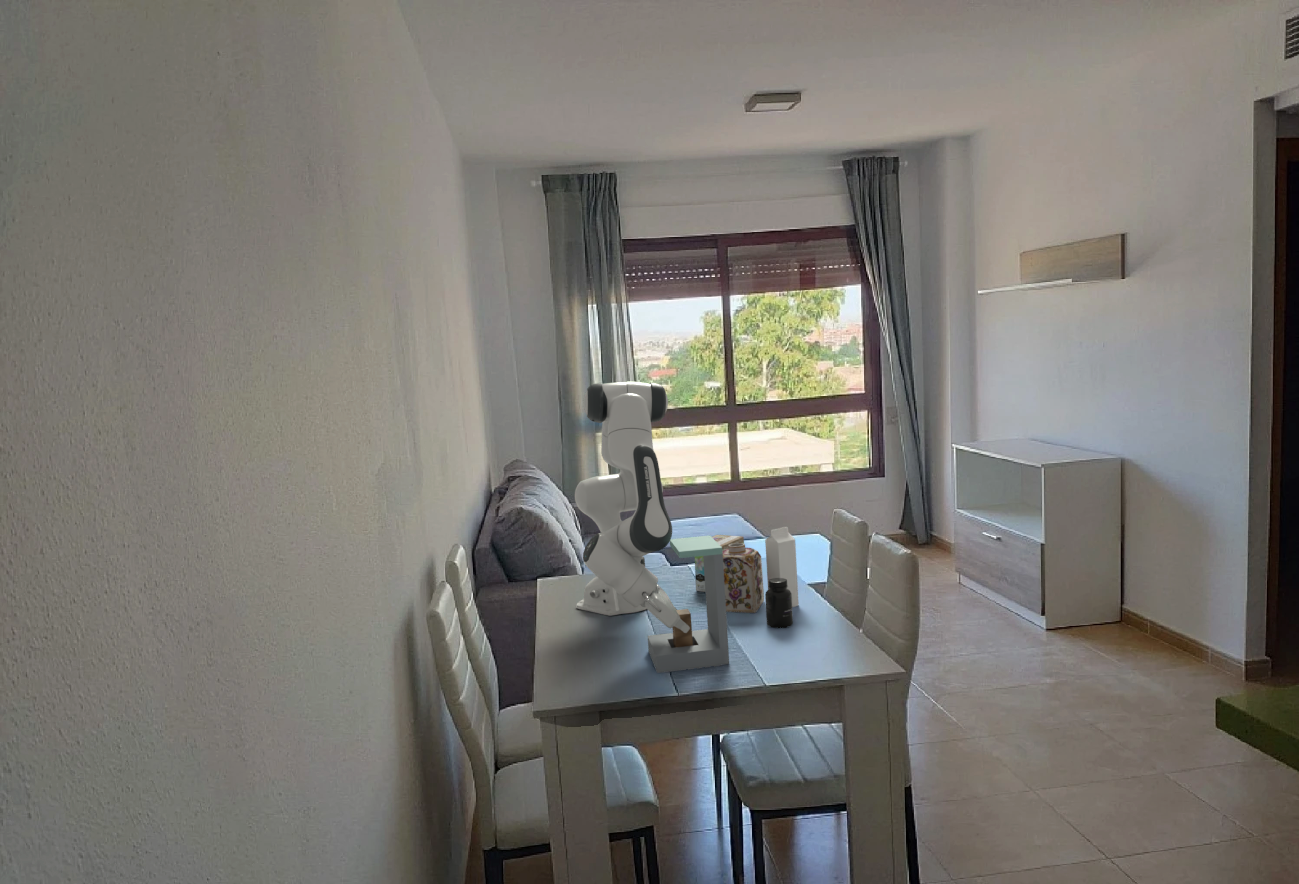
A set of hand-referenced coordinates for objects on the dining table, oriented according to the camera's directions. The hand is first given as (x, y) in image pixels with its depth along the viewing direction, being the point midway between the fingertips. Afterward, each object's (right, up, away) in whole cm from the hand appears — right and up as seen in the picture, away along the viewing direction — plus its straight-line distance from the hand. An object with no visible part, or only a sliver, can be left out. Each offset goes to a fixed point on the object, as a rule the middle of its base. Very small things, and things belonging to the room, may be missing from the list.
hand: (684, 623), depth 209 cm
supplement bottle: (+26, -5, +21) cm, 33 cm away
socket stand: (0, -8, +1) cm, 8 cm away
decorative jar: (+17, -4, +39) cm, 43 cm away
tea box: (+14, -1, +61) cm, 63 cm away
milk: (+29, -3, +37) cm, 48 cm away
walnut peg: (0, -8, +1) cm, 8 cm away
